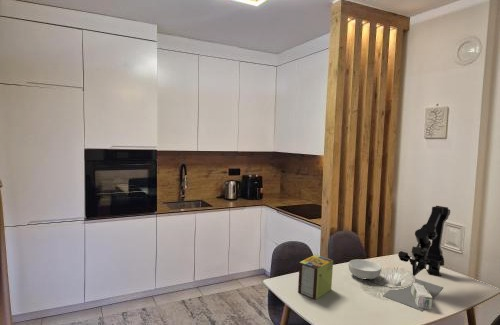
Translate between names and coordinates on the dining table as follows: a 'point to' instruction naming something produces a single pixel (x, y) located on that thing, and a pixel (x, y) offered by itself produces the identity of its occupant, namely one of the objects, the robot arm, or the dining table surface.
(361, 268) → the cereal bowl
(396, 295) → the rubber mat
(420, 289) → the syrup box
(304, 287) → the protein box
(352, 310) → the dining table surface
